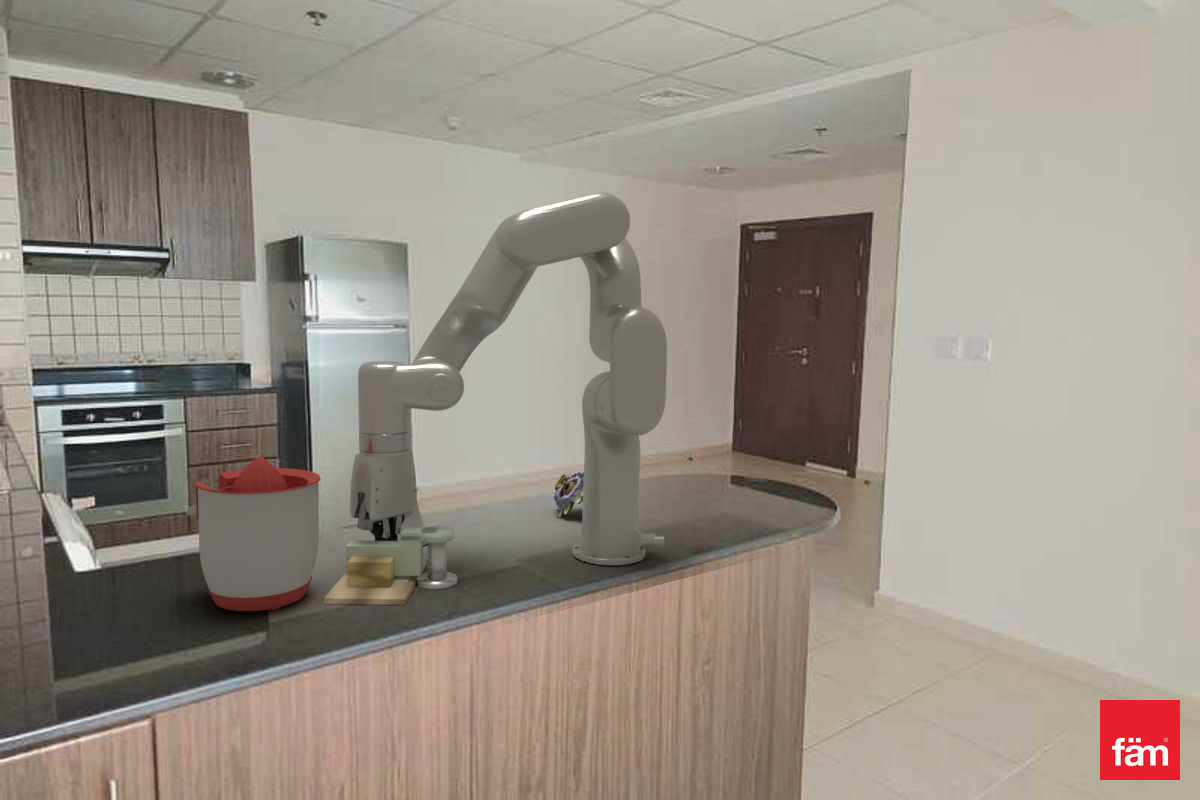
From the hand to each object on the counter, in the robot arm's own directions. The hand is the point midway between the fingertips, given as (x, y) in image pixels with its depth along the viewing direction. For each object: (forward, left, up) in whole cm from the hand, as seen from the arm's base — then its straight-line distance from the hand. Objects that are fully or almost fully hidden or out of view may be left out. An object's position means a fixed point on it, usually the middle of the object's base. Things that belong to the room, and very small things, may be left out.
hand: (386, 560), depth 117 cm
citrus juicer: (+16, +11, -2) cm, 19 cm away
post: (-8, +4, -2) cm, 9 cm away
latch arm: (-3, +4, -1) cm, 5 cm away
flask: (0, -16, -3) cm, 17 cm away
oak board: (0, +4, -2) cm, 5 cm away
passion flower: (-31, -37, -3) cm, 49 cm away
